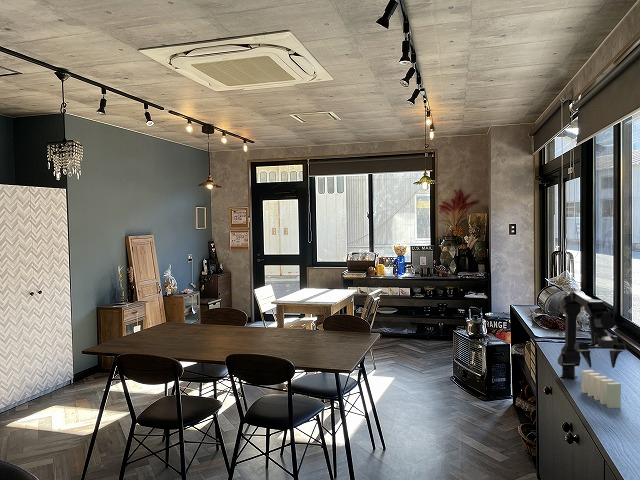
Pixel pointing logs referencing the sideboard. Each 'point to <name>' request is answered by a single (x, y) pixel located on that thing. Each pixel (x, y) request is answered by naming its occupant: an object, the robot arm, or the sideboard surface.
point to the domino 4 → (604, 390)
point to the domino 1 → (585, 380)
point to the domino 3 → (597, 386)
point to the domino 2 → (591, 383)
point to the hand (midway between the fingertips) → (601, 367)
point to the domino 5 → (613, 395)
